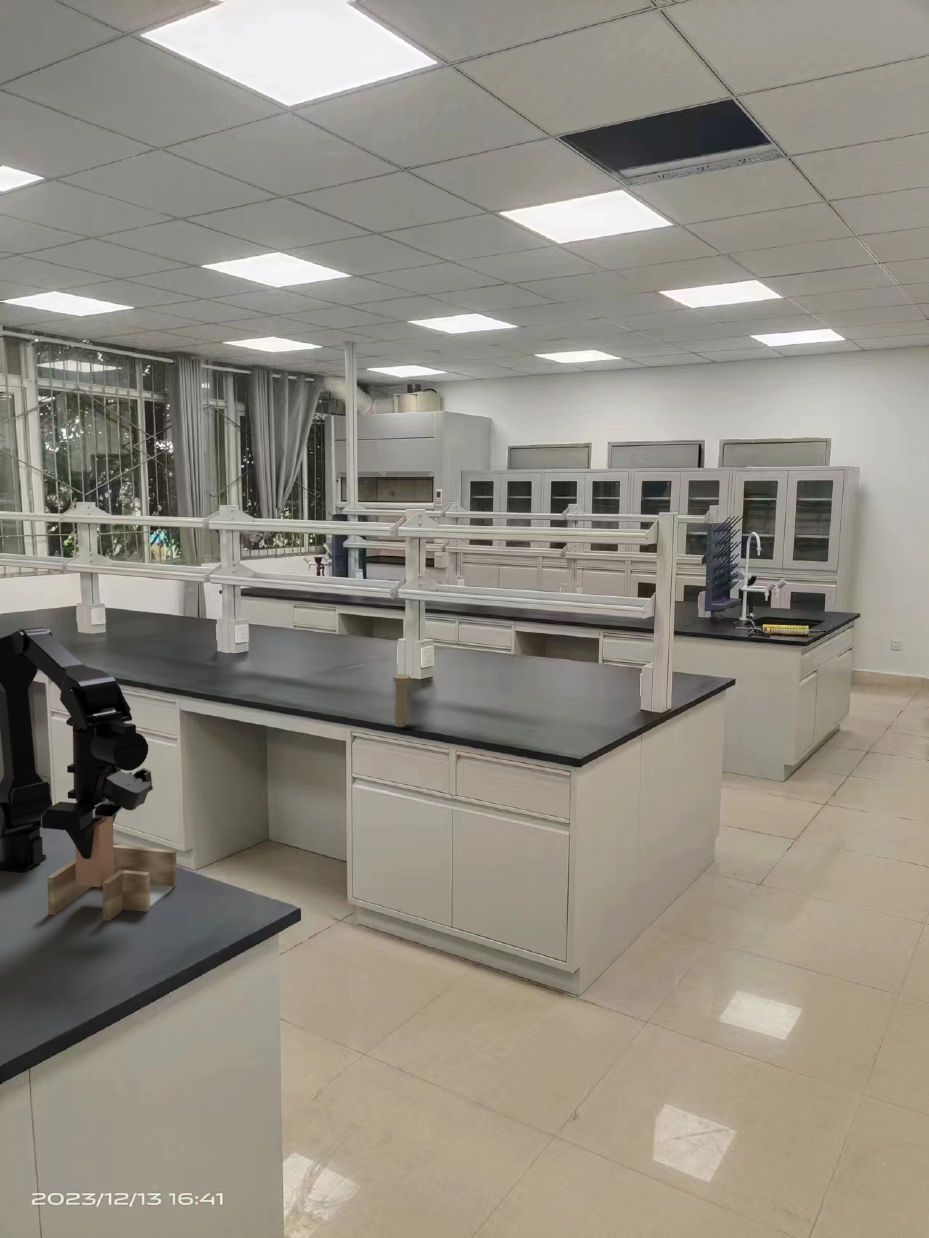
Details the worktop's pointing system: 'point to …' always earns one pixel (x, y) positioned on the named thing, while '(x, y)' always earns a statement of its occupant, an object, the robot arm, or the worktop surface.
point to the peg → (97, 856)
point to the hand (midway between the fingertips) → (94, 853)
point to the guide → (120, 881)
